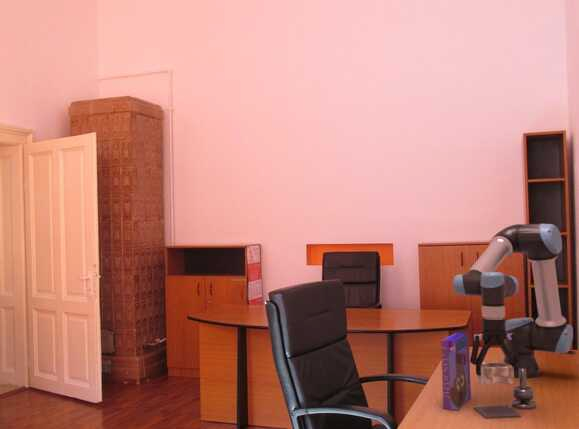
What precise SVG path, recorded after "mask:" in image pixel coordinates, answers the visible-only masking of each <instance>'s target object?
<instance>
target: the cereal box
mask: <svg viewBox="0 0 579 429" xmlns="http://www.w3.org/2000/svg"><path fill="white" fill-rule="evenodd" d="M440 343H441V344H440V345H441V346H440V348H441V349H440V350H441V353H440V354H441V375H442V376H441V377H442V378H441V379H442V380H441V381H442V404H443V405H442V406H443V407H442V409H443V410H447V411H453V412H454V411H455V412H458V411H459V410H460V409H461V408H462V407H463V406H465V405H466V403H468V402H469V401H470V400H471V398H472V393H471V392H472V390H471V388H472V387H471V386H472V385H471V365H470V364H471V362H470V359H471V354H470V333H467V332H463V331H462V332H454V333H452V334H451V335H449V336H446V338H444V339H441V340H440Z"/></svg>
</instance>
